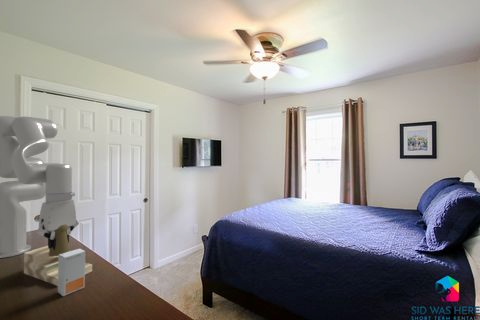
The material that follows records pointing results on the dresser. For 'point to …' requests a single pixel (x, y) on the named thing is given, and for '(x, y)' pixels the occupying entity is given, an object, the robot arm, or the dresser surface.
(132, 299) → the dresser surface
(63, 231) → the cork
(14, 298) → the dresser surface
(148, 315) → the dresser surface
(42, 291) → the dresser surface
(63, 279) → the skincare box
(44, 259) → the step stand
